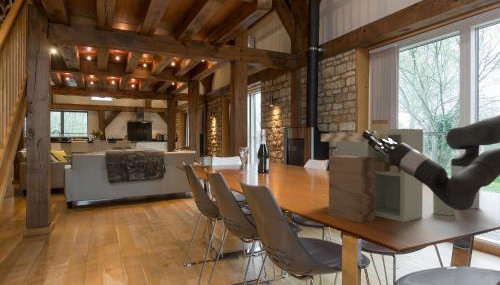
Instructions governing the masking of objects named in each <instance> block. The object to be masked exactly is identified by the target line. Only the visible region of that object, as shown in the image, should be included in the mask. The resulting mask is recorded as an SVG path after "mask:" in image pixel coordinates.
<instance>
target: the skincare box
mask: <svg viewBox="0 0 500 285" xmlns="http://www.w3.org/2000/svg"><path fill="white" fill-rule="evenodd" d="M432 205H433V206H432V207H433V208H432V210H433V214H438V215H443V216H452V215H455V213H456V212H455V210H456V209H453V208H451V207H449V206H448V205H446V204H445V203H444V202H443V201H441V200H440V199H439V198H438V197H437V196H436V195H435V194H434V193H433V192H432Z"/></svg>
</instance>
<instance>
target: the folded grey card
mask: <svg viewBox="0 0 500 285" xmlns="http://www.w3.org/2000/svg"><path fill="white" fill-rule="evenodd" d="M364 149H365V142H336V156H343V155H344V156H361V157H364Z"/></svg>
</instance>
